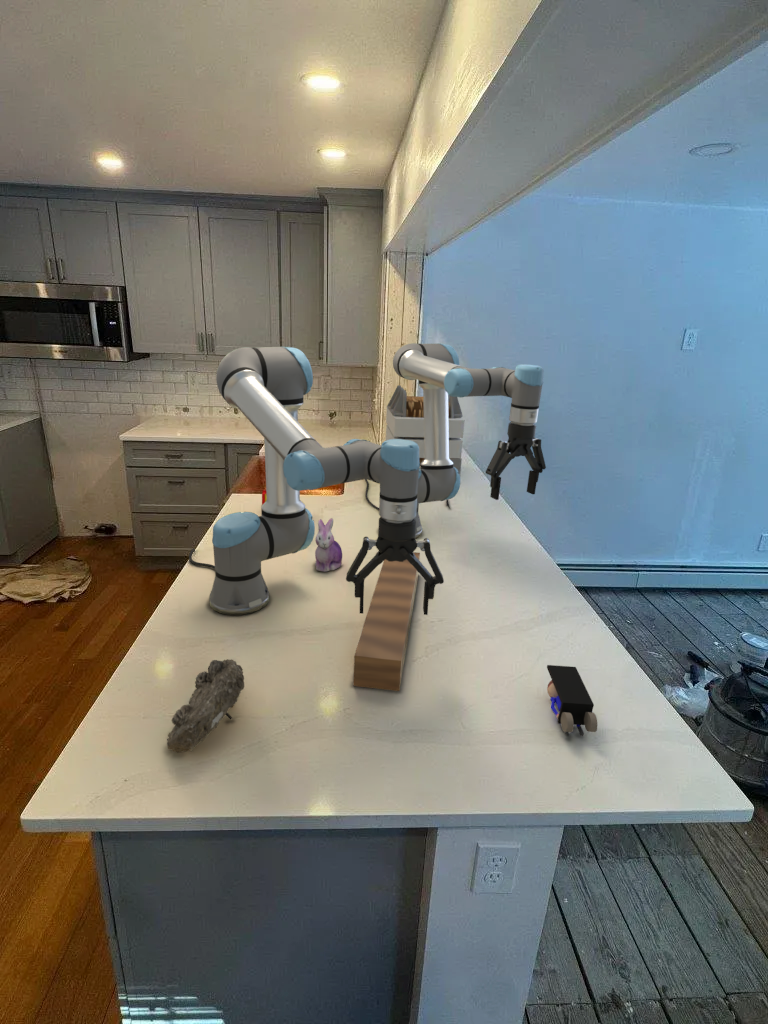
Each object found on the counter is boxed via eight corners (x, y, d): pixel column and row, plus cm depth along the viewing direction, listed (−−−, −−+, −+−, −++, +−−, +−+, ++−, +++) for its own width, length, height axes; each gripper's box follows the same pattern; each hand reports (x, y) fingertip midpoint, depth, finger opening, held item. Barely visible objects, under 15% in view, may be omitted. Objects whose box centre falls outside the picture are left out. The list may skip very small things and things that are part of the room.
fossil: (192, 660, 117) (244, 628, 112) (224, 691, 120) (276, 661, 115) (142, 746, 98) (202, 712, 93) (182, 779, 101) (242, 748, 96)
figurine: (319, 575, 166) (320, 527, 161) (307, 561, 175) (307, 516, 170) (349, 569, 170) (350, 523, 165) (336, 556, 179) (336, 512, 174)
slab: (386, 572, 170) (387, 549, 168) (418, 575, 169) (419, 552, 167) (353, 685, 119) (354, 655, 116) (399, 691, 118) (401, 660, 115)
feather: (446, 491, 253) (448, 487, 252) (449, 510, 226) (452, 506, 226) (442, 489, 253) (445, 485, 252) (445, 507, 226) (448, 504, 226)
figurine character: (595, 749, 106) (570, 690, 120) (603, 719, 103) (577, 662, 116) (559, 748, 106) (538, 690, 119) (567, 718, 103) (545, 662, 116)
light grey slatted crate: (382, 463, 289) (386, 382, 275) (445, 464, 293) (451, 384, 279) (390, 482, 257) (394, 392, 243) (460, 483, 261) (468, 394, 247)
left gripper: (334, 522, 110) (333, 618, 117) (461, 525, 111) (453, 621, 118) (336, 509, 117) (336, 601, 124) (456, 512, 118) (449, 603, 125)
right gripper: (495, 428, 147) (486, 505, 155) (565, 423, 159) (554, 494, 166) (478, 422, 154) (470, 496, 161) (546, 417, 165) (536, 487, 173)
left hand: (393, 611), depth 121 cm, fingers open, 13 cm apart
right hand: (512, 495), depth 164 cm, fingers open, 13 cm apart
